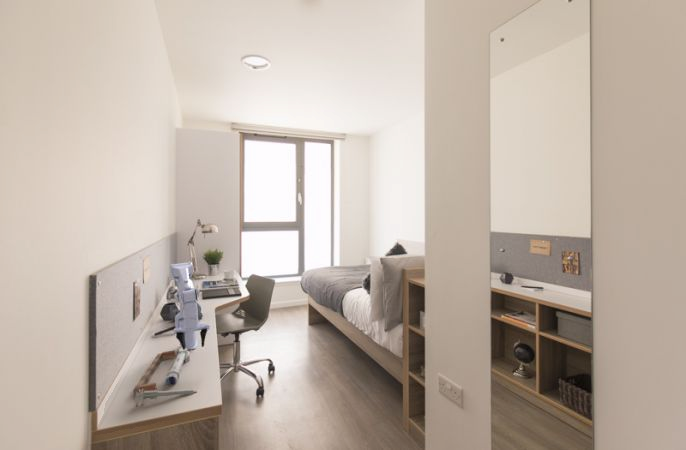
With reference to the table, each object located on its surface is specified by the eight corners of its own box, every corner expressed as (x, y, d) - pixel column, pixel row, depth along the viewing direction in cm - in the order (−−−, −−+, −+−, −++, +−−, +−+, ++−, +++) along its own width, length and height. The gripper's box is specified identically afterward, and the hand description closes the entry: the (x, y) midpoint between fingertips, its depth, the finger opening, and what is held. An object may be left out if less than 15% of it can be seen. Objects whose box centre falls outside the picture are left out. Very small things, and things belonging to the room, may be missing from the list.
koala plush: (200, 312, 227) (197, 284, 226) (208, 319, 213) (205, 288, 212) (172, 319, 217) (169, 289, 215) (179, 326, 202) (175, 294, 201)
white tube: (163, 377, 134) (177, 344, 158) (165, 392, 135) (179, 357, 159) (177, 375, 135) (189, 342, 159) (179, 389, 136) (191, 355, 160)
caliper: (135, 407, 121) (134, 391, 121) (136, 406, 122) (134, 389, 122) (197, 392, 129) (195, 377, 128) (197, 391, 130) (195, 375, 129)
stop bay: (158, 358, 160) (157, 352, 160) (175, 356, 162) (175, 350, 161) (134, 395, 129) (133, 388, 129) (155, 391, 131) (154, 384, 130)
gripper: (170, 322, 141) (173, 353, 142) (207, 317, 144) (209, 348, 145) (174, 317, 148) (177, 346, 148) (209, 312, 151) (212, 342, 152)
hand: (193, 347), depth 147 cm, fingers open, 7 cm apart
